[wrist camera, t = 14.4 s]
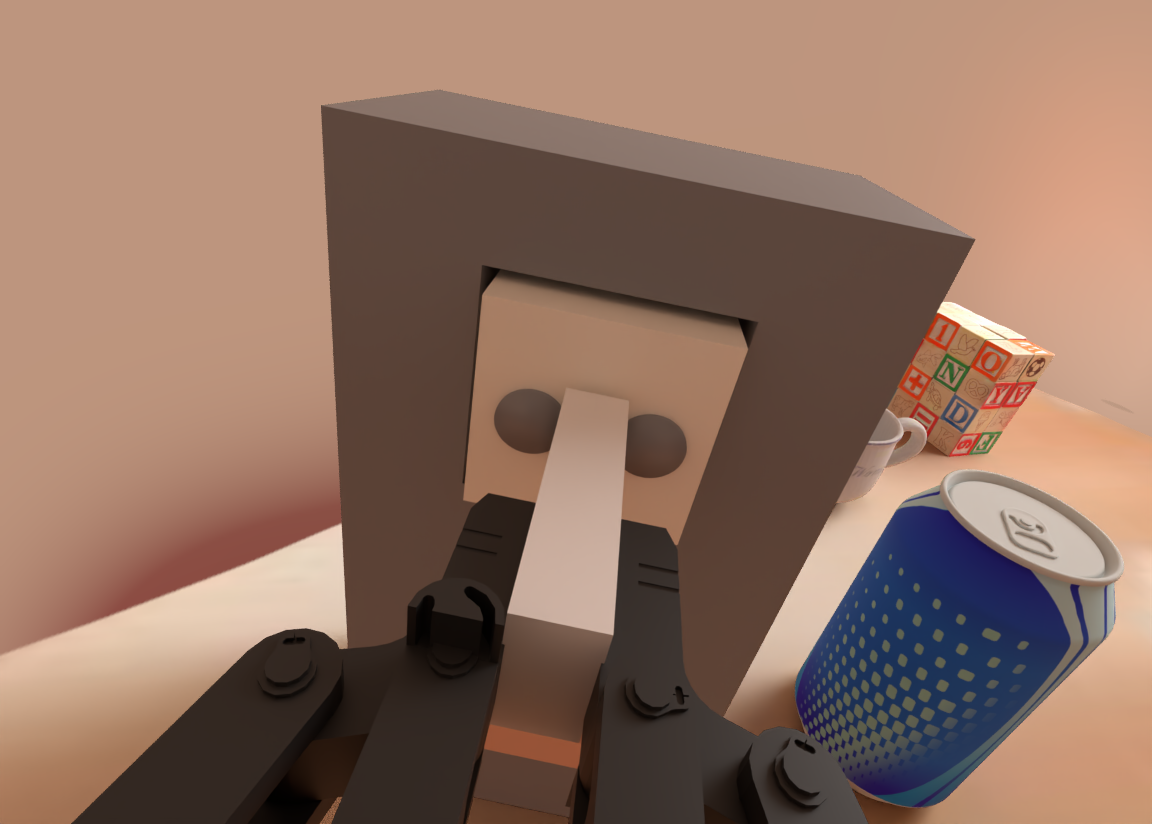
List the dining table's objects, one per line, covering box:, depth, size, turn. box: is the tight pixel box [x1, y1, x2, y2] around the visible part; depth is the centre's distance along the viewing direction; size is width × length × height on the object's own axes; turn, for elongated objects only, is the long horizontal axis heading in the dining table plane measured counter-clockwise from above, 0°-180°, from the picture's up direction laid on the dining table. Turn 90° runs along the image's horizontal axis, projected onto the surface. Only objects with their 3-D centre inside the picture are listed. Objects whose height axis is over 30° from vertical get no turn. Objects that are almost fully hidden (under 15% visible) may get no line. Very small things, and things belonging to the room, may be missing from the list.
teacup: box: [837, 409, 927, 503], centre depth 50 cm, size 14×11×8 cm
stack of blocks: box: [886, 302, 1055, 457], centre depth 67 cm, size 21×6×12 cm, turn 19°
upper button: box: [463, 269, 748, 545], centre depth 18 cm, size 8×6×6 cm
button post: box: [321, 90, 975, 817], centre depth 23 cm, size 8×14×27 cm, turn 84°
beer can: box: [795, 469, 1124, 808], centre depth 28 cm, size 8×8×16 cm
